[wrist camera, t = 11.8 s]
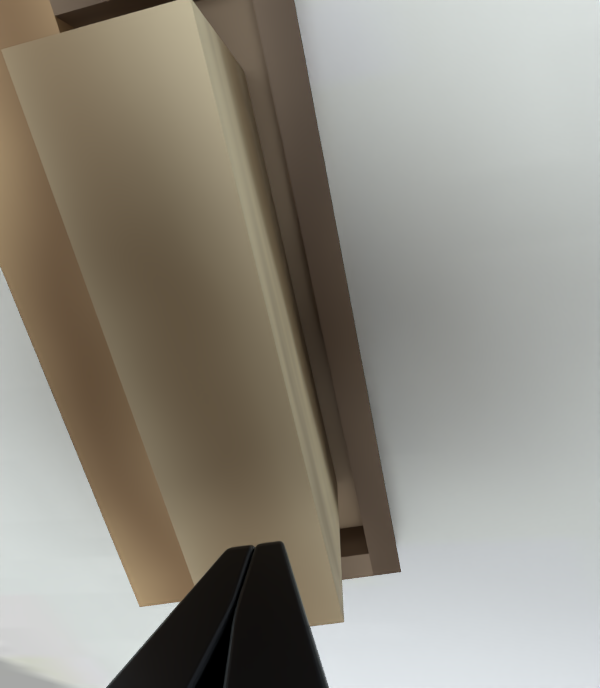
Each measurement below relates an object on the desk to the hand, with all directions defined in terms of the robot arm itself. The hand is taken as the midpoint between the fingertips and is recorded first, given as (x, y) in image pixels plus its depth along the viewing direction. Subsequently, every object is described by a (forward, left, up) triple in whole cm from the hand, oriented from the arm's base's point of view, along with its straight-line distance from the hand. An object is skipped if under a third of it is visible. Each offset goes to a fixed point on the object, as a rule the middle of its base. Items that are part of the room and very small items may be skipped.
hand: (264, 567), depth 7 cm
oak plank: (+1, -1, -10) cm, 10 cm away
